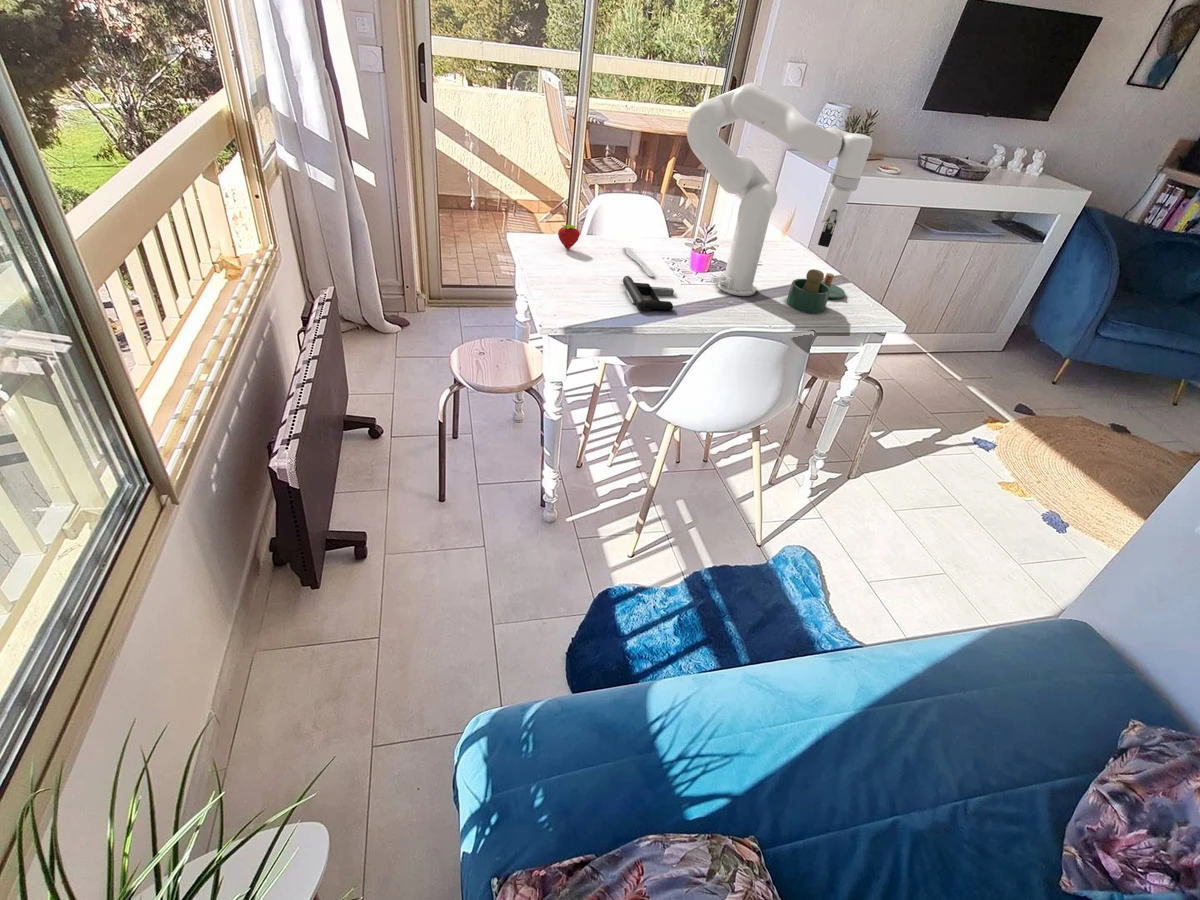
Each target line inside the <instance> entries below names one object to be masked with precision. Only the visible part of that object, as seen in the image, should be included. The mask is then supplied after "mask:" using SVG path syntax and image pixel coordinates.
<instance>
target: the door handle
mask: <svg viewBox="0 0 1200 900" xmlns="http://www.w3.org/2000/svg"><path fill="white" fill-rule="evenodd" d="M622 283H623V285H624V287H625V289H626V291H625V293H626V294H627V295H628V297H629V299H630V301H631V303H632V304H634V305H635V306H636V308H637V309H638V310H641V311H643V310H656V311H669V312H670V311H672V310H673V308H674V305H673V302H671V301H669V300H660V299H659V297H658V295H663V296H674V293H675V289H674V288H672V287H659V286H651V285H650V284H649V283H645V282H636V281H634V280H633V278H632V277H630V275H625V276H624V277H623V278H622ZM645 296H646V297H649V299H645V298H644V297H645Z"/></svg>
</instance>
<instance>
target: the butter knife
mask: <svg viewBox="0 0 1200 900" xmlns="http://www.w3.org/2000/svg"><path fill="white" fill-rule="evenodd" d="M625 253H626V255H627V256H628V257H629V258H631V259H632V260H633V261H635V262H636V263H637V264H639V265H640V267H641V268H642V270H643V271H644V273H645V274H646V275H647V276H648V277H651V278H655V273H653V271H652V270H651V269H649V268H648V267H647V266H646V265H645V264H644V263H643V262H641V260H640V259H639V258H638V257H637V256H636V254H635V253H634V252H633V251H632V250H631V249H630V248H629V247H625Z"/></svg>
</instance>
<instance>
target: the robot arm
mask: <svg viewBox="0 0 1200 900" xmlns="http://www.w3.org/2000/svg"><path fill="white" fill-rule="evenodd" d="M742 120H743V121H745V122H747V123H749V124H751V125H753V126H755V127H757V128H759V129H760V130H763V131H765V132H767V133H769V134H770V135H773V136H774V137H775V138H777V139H779V140H780V141H782V142H783V143H785V144H787V145H788V146H789V147H792V148H793V149H794V150H796V151H798V152H800V153H802V154H804V155H806V156H808V157H810V158H812V159H814V160H816V161H819V162H825V163H826V162H829V161H832V160H834V159H835V158H837V160H836V164H835V167H834V170H833V174H832V176H831V180H830V182H829V186H830V187H831V190H830V192H829V196H828V200H827V202H826V205H825V207H824V211H823V214H822V217H821V220H820V222H821V223H822V224H823V223H824V225H823V228H822V231H821V233H820V237H819V239H818V242H817V246H820V247H825V248H829V247H830V245H831V242H832V238H833V236H834V232H835V229H836V227H837V226H838V225H839V224H840V221H841V219H842V217H843V215H844V212H845V209H846V206H847V205H848V202H849V199H850V196H851V193H852V192H856V191H857V190H858V189H857V188H858V186H859V184H860V181H861V177H862V175H863V172H864V169H865V167H866V164H867V161H868V158H869V154H870V152H871V149H872V146H873V138H872V137H870V136H869V135H866V134H863V133H857V132H856V133H855V132H854V133H853V132H852V133H851V132H848V131H845V130H842V129H839V128H837V127H830V126H829V127H826V128H824V127H822V126H820V125H818V124H817V123H815V122H813V121H811V120H809V119H808V118H806V117H804V116H803V115H802V114H801V113H800V112H799V111H798V109H797V108H796V107H795V106H794V105H793V104H791V103H789V102H787V101H785V100H783V99H782V98H779V97H777V96H775V95H773V94H771V93H769V92H767V91H765V89H764V88H763V86H761V85H760V84H759V83H756V82H748V83H745V84H743V85H741V86H739V87H737V88H735V89H732V90H729V91H727V92H724V93H721V94H719V95H716V96H713V97H711V98H708V99H705V100H703V101H701V102H700V103H698V104H697V105H696V106H695V107H694V108H693V110H692V111H691V113H690V115H689V117H688V121H687V126H686V138H687V143H688V145H689V148H690V149H691V151H692V152H693V154H694V155H695V157H696V158H697V159H698V160H699V162H700V163H702V165H703V166H704V167H705V168H706V170H707V171H708V173H709V174H710V175H711V176H712V177H713V178H714V180H715V181H716V182H717V183H718V185H719V186H720V187H721V188H722V189H723V190H724V192H726V193H728V194H730V195H735V194H737V195H738V196H739V197H740V199H741V201H740V204H739V206H738V212H737V219H736V222H735V223H736V224H735V229H734V233H733V237H732V242H731V247H730V251H729V255H728V259H727V264H726V268H725V272H721V275H719V276H711V277H710V283H711V284H717V288H718V289H720V290H721V291H722V292H725V293H727V294H729V295H734V296H738V297H750V296H753V295H755V294H756V291H757V287H756V285H755V284H754V281H755V277H756V273H757V269H758V266H759V262H760V258H761V254H762V251H763V246H764V242H765V238H766V235H767V232H768V231H767V230H768V227H769V223H770V219H771V215H772V212H773V211H774V209H775V206H776V204H777V201H778V193H777V190H776V188H775V186H774V185H773V183H771V181H770V180H769V179H768V177H766V176H765V174H764V172H762V170H761V169H760V168H759V167H758V166H757V165H756V163H755V162H754V161H753V160H752V159H751V158H750V157H748V156H745V155H736V154H735V153H734V152H733V150H732V149H731V148H730V147H729V145H728V144H727V143H726V142H725V141H724V140H723V139H722V138H721V137H720V136H719V134H718V132H717V131H718V129H720V128H723V127H724V126H728V125H731V124H733V123H736V122H739V121H742Z"/></svg>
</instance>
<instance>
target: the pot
mask: <svg viewBox="0 0 1200 900" xmlns="http://www.w3.org/2000/svg"><path fill="white" fill-rule="evenodd" d="M806 281H807V278H796V279H793V280H792V281H791V284H790V288H789V290H788V294H787V298H786V304H787V305H788V306H789V307H790V308H792V309H794V310H796V311H799V312H802V313H807V314H821V313H823V312H824V311H825V309H826V306H827V303H828V300H829V299H830V298H829V295H830V292H831V289H830V287H829V286H827V285H825V284H823V283H821V282H820V285H819V291H818V293H814V292H809V291H805V290H803V287H804V285H805V283H806Z"/></svg>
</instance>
